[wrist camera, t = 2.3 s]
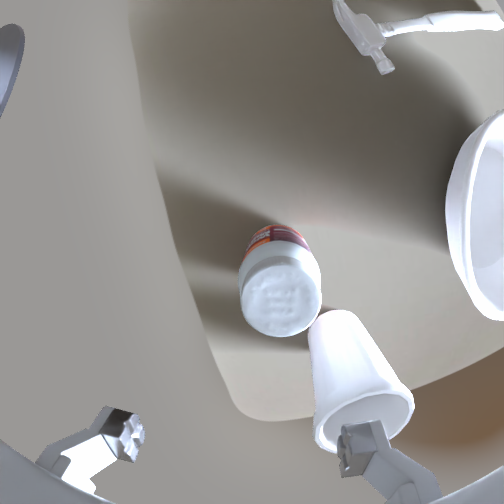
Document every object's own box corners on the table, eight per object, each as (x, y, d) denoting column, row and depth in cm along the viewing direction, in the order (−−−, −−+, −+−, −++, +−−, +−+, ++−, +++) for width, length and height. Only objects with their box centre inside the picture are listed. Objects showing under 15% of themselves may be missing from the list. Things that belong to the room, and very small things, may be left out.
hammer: (315, -3, 20) (318, -17, 17) (465, -14, 15) (473, -21, 12) (375, 79, 22) (386, 69, 19) (507, 48, 17) (518, 44, 14)
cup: (356, 361, 31) (389, 450, 17) (292, 357, 31) (300, 455, 17) (375, 303, 29) (432, 384, 15) (306, 296, 29) (330, 387, 15)
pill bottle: (259, 214, 27) (251, 238, 16) (317, 237, 27) (346, 276, 16) (237, 270, 29) (218, 325, 18) (293, 291, 29) (303, 354, 18)
